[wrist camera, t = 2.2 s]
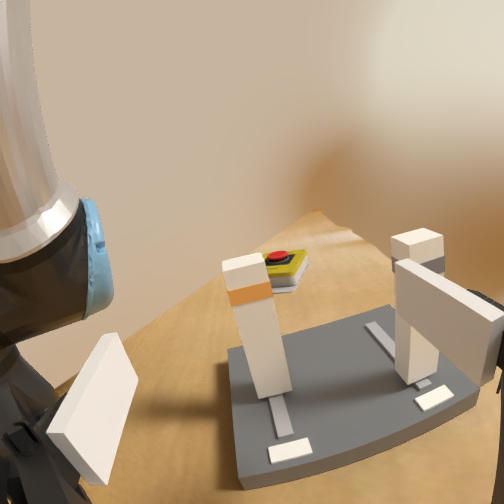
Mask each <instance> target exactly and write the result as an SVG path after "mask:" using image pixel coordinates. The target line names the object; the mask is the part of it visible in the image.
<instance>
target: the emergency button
mask: <svg viewBox="0 0 504 504" xmlns="http://www.w3.org/2000/svg"><path fill="white" fill-rule="evenodd" d="M263 258H264V260H265V264H266V268H267V273H268V278H269V280H270V283H271V288H272V292H273V294H279V293H291V292H293V291H295V290H296V288H297V286H298V284H299V282H300V280H301V278H302V276H303V274H304V273H305V271H306V269H307V267H308V265H309V263H310V259H308V257H307V253H306V250H294V251H276V252H273V253H266V254H264V255H263Z"/></svg>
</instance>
